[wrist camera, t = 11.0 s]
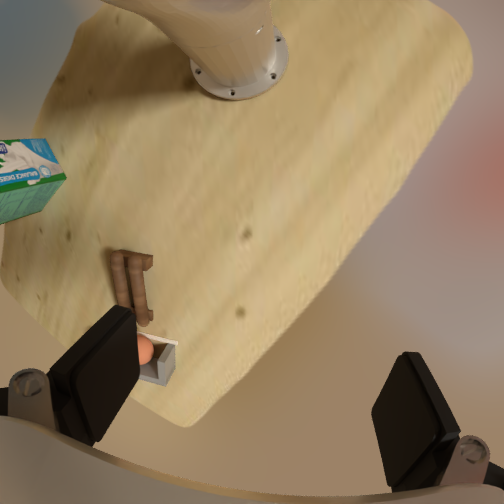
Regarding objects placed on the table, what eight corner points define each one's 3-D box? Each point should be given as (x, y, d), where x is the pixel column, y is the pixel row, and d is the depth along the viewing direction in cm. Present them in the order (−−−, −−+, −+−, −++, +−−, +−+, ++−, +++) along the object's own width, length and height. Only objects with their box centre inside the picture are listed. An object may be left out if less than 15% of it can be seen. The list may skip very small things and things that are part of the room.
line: (104, 321, 47) (104, 322, 47) (177, 341, 46) (177, 341, 46) (104, 325, 47) (104, 326, 47) (177, 344, 46) (177, 345, 46)
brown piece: (120, 243, 42) (105, 252, 38) (153, 248, 42) (139, 258, 38) (123, 316, 46) (111, 329, 42) (153, 324, 46) (142, 338, 42)
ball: (119, 340, 46) (119, 339, 42) (146, 332, 48) (148, 330, 44) (129, 367, 45) (130, 369, 41) (156, 359, 48) (159, 360, 43)
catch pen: (107, 326, 47) (93, 341, 43) (174, 344, 46) (164, 362, 42) (110, 350, 49) (97, 365, 44) (175, 368, 48) (166, 386, 43)
